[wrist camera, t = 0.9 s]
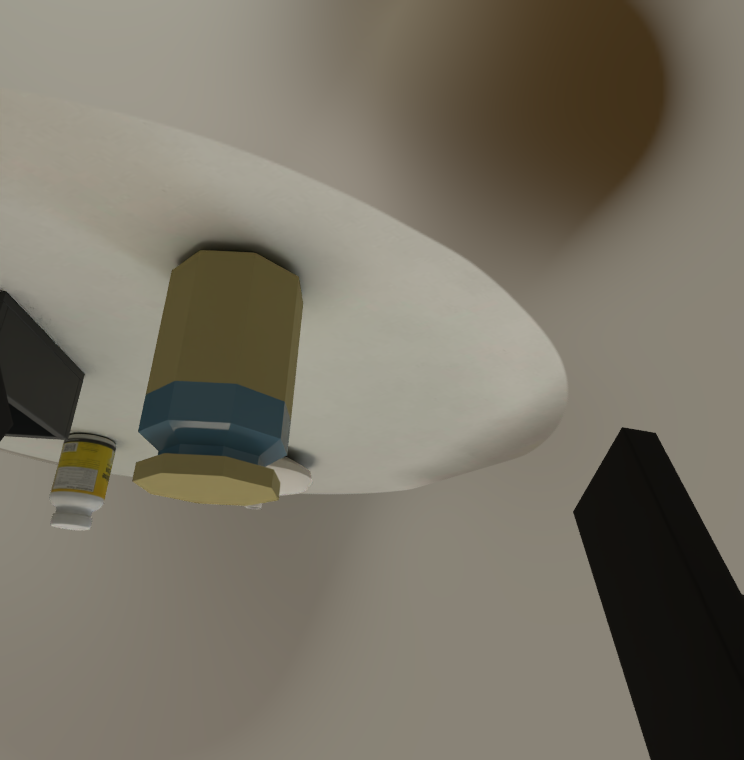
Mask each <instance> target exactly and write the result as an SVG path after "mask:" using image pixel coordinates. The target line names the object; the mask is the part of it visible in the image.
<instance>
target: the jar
mask: <svg viewBox="0 0 744 760" xmlns="http://www.w3.org/2000/svg"><path fill="white" fill-rule="evenodd" d="M302 309H303V300H302V294H301V288H300V282H299V277H298V276H296V275H294V274H293V273H291V272H289V271H287V270H285V269H284V268H282V267H280V266H278V265H276V264H275V263H273V262H271V261H269V260H267V259H266V258H264V257H262V256H260V255H258V254H257V253H253V252H233V251H213V250H200V251H198V252H197V253H195V254H194V255H193V256H191V257H190V258H188V259H187V260H186V261H184V262H183V263H182V264H180V265H179V266H177V267H176V268H175V269H173V270H172V272H171V277H170V282H169V287H168V291H167V296H166V301H165V306H164V311H163V315H162V320H161V325H160V330H159V334H158V339H157V344H156V349H155V353H154V358H153V363H152V368H151V372H150V377H149V382H148V387H147V391H146V396H145V401H144V406H143V410H142V415H141V420H140V425H139V430H138V432H139V433H140V434H141V435H142V436H143V437H144V438H145V439H146V440H147V441H149V442H150V443H151V444H152V445H153V446H154V447H155V448H156V449H157V450H158V451H159V452H158V455H157V456H154V457H151V458H148V459H145V460H142V461H139V462H136V466H135V471H134V475H133V480H132V481H133V482H134V483H136V484H137V485H139V486H140V487H142V488H143V489H145V490H146V491H147V492H149V493H150V494H154V495H159V496H164V497H169V498H174V499H179V500H184V501H189V502H194V503H202V504H221V505H243V506H249V505H255V504H260V503H265V502H271V501H276V500H279V492H280V481H279V479H278V477H277V475H276V473H275V471H274V469H271V468H267V467H266V466H268V465H270V464H272V463H273V462H275V461H277V460H279V459H281V458H283V457H285V456H287V452H288V443H289V433H290V424H291V414H292V405H293V395H294V386H295V376H296V367H297V357H298V347H299V338H300V328H301V319H302Z"/></svg>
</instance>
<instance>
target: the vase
mask: <svg viewBox="0 0 744 760" xmlns="http://www.w3.org/2000/svg"><path fill="white" fill-rule="evenodd" d="M266 467H267V468H271V469H274V471H275V473H276V475H277V477H278V479H279V481H280V492H279V496H281V495H291V494H297V493H301V492H304V491H306V490H307V489H308V488H309V487H310V486H311V485H312V483H313V481H312V477H311V473H310V471H309V470H308V469H306V468H305V467H303V466H302V465H300V464H298V463H297V462H295V461H294V460H291V459H289V458H287V457H283V458H281V459H279V460H277V461H275V462H273V463H272V464H270V465H268V466H266ZM261 506H262V503H260V504H255V505H249V506H245V507H246V508H249V509H261Z"/></svg>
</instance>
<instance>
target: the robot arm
mask: <svg viewBox="0 0 744 760" xmlns="http://www.w3.org/2000/svg"><path fill="white" fill-rule="evenodd" d="M12 426H13V421H12V416H11V412H10V407H9V403H8V399H7V394H6V390H5V385H4V381H3V376H2V372H1V367H0V441H1V440H2V438H3V437H4V436H5V435H6V433H7V432H8V431H9V430H10V428H11V427H12ZM573 513H574V516H575V519H576V522H577V526H578V529H579V532H580V535H581V538H582V542H583V545H584V548H585V551H586V554H587V558H588V561H589V564H590V567H591V570H592V573H593V577H594V580H595V583H596V586H597V589H598V593H599V596H600V599H601V602H602V605H603V609H604V612H605V615H606V618H607V622H608V625H609V627H610V631H611V634H612V637H613V641H614V644H615V647H616V650H617V653H618V656H619V660H620V663H621V666H622V669H623V672H624V676H625V679H626V682H627V685H628V689H629V692H630V695H631V698H632V701H633V705H634V707H635V711H636V714H637V717H638V720H639V724H640V727H641V730H642V733H643V736H644V739H645V743H646V746H647V749H648V752H649V756H650V759H651V760H744V595H742V594H741V593H740V591H739V589H738V587H737V585H736V583H735V581H734V579H733V578H732V576H731V574H730V572H729V570H728V568H727V566H726V564H725V563H724V561H723V559H722V557H721V555H720V553H719V551H718V550H717V547H716V546H715V544H714V542H713V540H712V538H711V536H710V534H709V532H708V531H707V529H706V527H705V525H704V523H703V521H702V519H701V517H700V515H699V514H698V512H697V510H696V508H695V506H694V504H693V502H692V501H691V499H690V497H689V495H688V493H687V491H686V489H685V487H684V485H683V484H682V482H681V480H680V478H679V476H678V474H677V473H676V471H675V468H674V467H673V465H672V463H671V461H670V459H669V457H668V455H667V454H666V452H665V450H664V448H663V446H662V444H661V442H660V440H659V438H658V436H657V435H656V433H652V432H647V431H641V430H635V429H629V428H623V427H622V428H621V430H620V432H619V434H618V436H617V437H616V439H615V441H614V442H613V444H612V446H611V447H610V449H609V451H608V453H607V454H606V456H605V458H604V460H603V461H602V463H601V465H600V466H599V468H598V470H597V471H596V473H595V475H594V477H593V478H592V480H591V482H590V484H589V485H588V487H587V489H586V490H585V492H584V494H583V496H582V497H581V499H580V501H579V503H578V504H577V506H576V508H575V510H574V511H573Z"/></svg>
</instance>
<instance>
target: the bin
mask: <svg viewBox="0 0 744 760" xmlns="http://www.w3.org/2000/svg"><path fill="white" fill-rule="evenodd" d="M0 367H1V372H2V376H3V381H4V385H5V390H6V394H7V399H8V403H9V407H10V412H11V416H12V421H13V426H12V427H11V428H10V430H9V431H8V432H7V433H6V435H5V436H12V437H28V438H45V439H61V440H68V437H69V434H70V430H71V426H72V422H73V418H74V414H75V410H76V406H77V402H78V399H79V395H80V391H81V387H82V383H83V379H84V375H85V374H84V373H83V372H82V371H81V370H80V369H79V368H78V367H77V366H76V365H75V364H74V363H73V362H72V361H71V360H70V359H69V358H68V357H67V355H66V354H65V353H64V352H63V351H62V350H61V349H60V348H59V347H58V346H57V345H56V344H55V343H54V342H53V341H52V340H51V339H50V338H49V337H48V336H47V334H46V333H45V332H44V331H43V330H42V329H41V328H40V327H39V326H38V325H37V324H36V323H35V322H34V321H33V320H32V319H31V318H30V317H29V316H28V315H27V313H26V312H25V311H24V310H23V309H22V308H21V307H20V306H19V305H18V304H17V303H16V302H15V301H14V300H13V299H12V298H11V297H10V296H9V295H8V293H7V292H0Z"/></svg>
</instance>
